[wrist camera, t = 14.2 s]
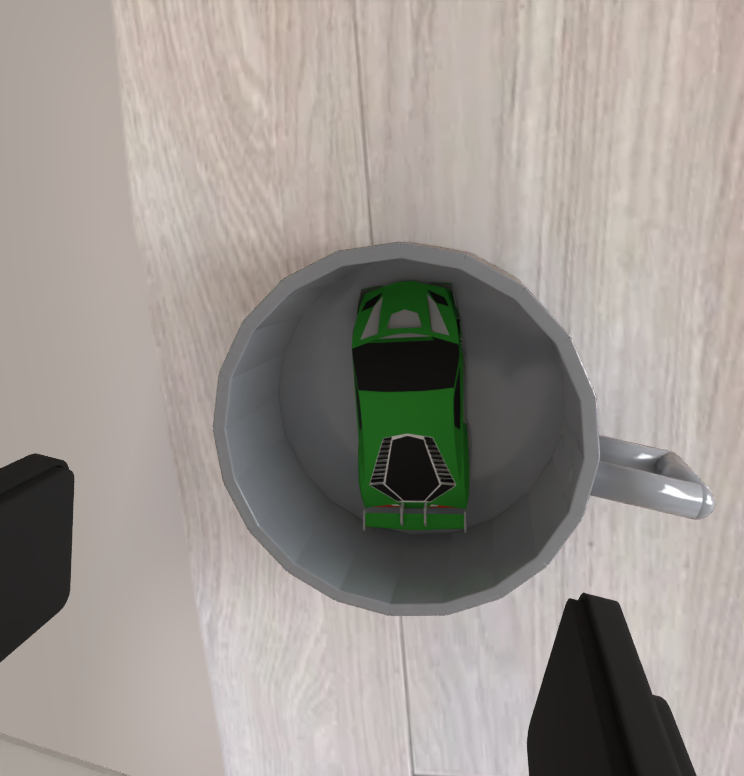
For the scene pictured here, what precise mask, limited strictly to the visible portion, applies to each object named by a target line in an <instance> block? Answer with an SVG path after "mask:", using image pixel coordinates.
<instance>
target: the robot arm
mask: <svg viewBox="0 0 744 776" xmlns="http://www.w3.org/2000/svg"><path fill="white" fill-rule="evenodd" d="M73 499H74V474H73V472H72V471H71V470H69V467H68V465H67V463H66V462H65V461H64V460H60V459H56V458H52V457H48V456H44V455H40V454H31V455H28V456H26V457H24V458H22V459H20V460H17V461H15V462H13V463H11V464H9V465H7V466H5V467H3V468H0V662H1V661H2V660H4V659H5V658H6V657H7V656H8V655H9V654H11V653H12V652H13V651H14V650H15V649H16V648H17V647H18V646H20V645H21V644H22V643H23V642H24V641H26V640H27V639H28V638H29V637H30V636H31V635H32V634H34V633H35V632H36V631H37V630H38V629H40V628H41V627H42V626H43V625H44V624H45V623H46V622H48V621H49V620H50V619H51V618H52V617H53V616H54V615H56V614H57V613H58V612H59V611H60V610H61V609H62V608H63V607H64V605H65V603H66V602H67V599H68V597H69V593H70V580H71V579H70V578H71V554H72V552H71V551H72V525H73ZM527 753H528V766H529V776H696V773H695V771H694V768H693V765H692V763H691V760H690V758H689V755H688V753H687V750H686V748H685V745H684V743H683V740H682V737H681V735H680V732H679V730H678V727H677V725H676V722H675V720H674V717H673V714H672V712H671V709H670V707H669V706H668V704H667V702H666V700H664V699H663V698H662V697H659V696H656V695H652V692H651V689H650V686H649V684H648V681H647V678H646V675H645V673H644V670H643V667H642V664H641V662H640V659H639V656H638V653H637V651H636V648H635V645H634V643H633V640H632V637H631V634H630V632H629V629H628V626H627V623H626V621H625V618H624V615H623V612H622V610H621V607H620V605H619V603H618V602H617V601H614V600H610V599H606V598H602V597H598V596H594V595H590V594H586V593H583V594H581V596H580V597H579V599H578V600H575V599H571V598H570V599H568V601H567V602H566V605H565V608H564V612H563V615H562V618H561V621H560V625H559V628H558V631H557V635H556V638H555V641H554V645H553V648H552V651H551V655H550V658H549V661H548V665H547V668H546V671H545V674H544V678H543V681H542V684H541V688H540V691H539V694H538V698H537V701H536V704H535V708H534V711H533V714H532V717H531V721H530V725H529V729H528V737H527ZM0 776H129V775H127V774H124V773H121V772H117V771H115V770H112V769H108V768H105V767H103V766H100V765H97V764H93V763H90V762H87V761H84V760H81V759H78V758H75V757H72V756H69V755H66V754H63V753H60V752H57V751H54V750H51V749H48V748H45V747H42V746H39V745H36V744H33V743H30V742H27V741H24V740H20V739H17V738H15V737H12V736H8V735H5V734H2V733H0Z"/></svg>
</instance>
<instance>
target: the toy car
mask: <svg viewBox="0 0 744 776" xmlns="http://www.w3.org/2000/svg"><path fill="white" fill-rule="evenodd" d="M356 314H358V316H357V319H356V323H355V326H354V328H353V336H352V359H353V372H354V386H355V399H356V412H357V425H358V439H359V445H358V479H359V488H360V493H361V497H362V501H363V503H364V506H365V508H369V507H397V508H400V513H366V510H364V511H363V530H364V531H366V527H377V528H390V529H402V530H440V529H464V533H466V531H467V524H466V512H464V514H426V512H428V508H461V509H466V508H467V503H468V497H469V478H470V477H469V474H470V473H469V470H470V469H469V454H468V449H469V448H470V449H472V445H471V439H470V433H469V427H468V421H467V422H466V420H465V412H464V403H463V382H464V381H465V380H466V387H467V393H468V380H467V356H466V353H462V333H461V321H460V319H457V318H460V315H459V310H458V306H457V302H456V297H455V293H454V289H453V284H451V283H435V282H432V283H430V284H429V285H428V284H423V283H418V282H414V281H405V282H396V283H393V284H390V285H388V286H385V287H382V286H376V287H371V288H366V289H361V292H360V296H359V299H358V303H357V313H356ZM440 333H441V334H440ZM376 334H377V335H376ZM466 419H467V415H466ZM437 470H438V471H437ZM441 475H446V476H441ZM440 478H443V479H446V480H441V479H440ZM405 508H412V509H424V514H408V513H403V511H405Z"/></svg>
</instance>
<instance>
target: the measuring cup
mask: <svg viewBox="0 0 744 776" xmlns="http://www.w3.org/2000/svg"><path fill="white" fill-rule="evenodd" d="M405 281H414V282H418V283H423V284H428V285H429V284H430V283H432V282H435V283H451V284H453V289H454V293H455V297H456V302H457V306H458V310H459V315H460V318H457V319H460V321H461V333H462V353H466V356H467V380H468V393H467V387H466V380H465V381H464V382H463V403H464V412H465V420H466V422H467V421H468V427H469V433H470V439H471V445H472V449H470V448H469V449H468V454H469V469H470V470H469V473H470V474H469V477H470V478H469V497H468V503H467V508H466V509H461V508H428V512H426V514H464V512H466V524H467V531H466V533H464V529H440V530H402V529H390V528H377V527H366V531H364V530H363V511H364V510H366V513H400V508H397V507H369V508H365V506H364V503H363V501H362V497H361V493H360V488H359V479H358V445H359V439H358V425H357V412H356V399H355V386H354V372H353V359H352V336H353V328H354V326H355V323H356V319H357V316H358V314H356V313H357V303H358V299H359V296H360V292H361V289H366V288H371V287H376V286H382V287H385V286H388V285H390V284H393V283H396V282H405ZM440 334H441V333H440ZM376 335H377V334H376ZM219 373H220V374H219V376H218V385H217V394H216V403H215V412H214V422H213V428H214V429H213V433H214V438H215V443H216V448H217V453H218V458H219V463H220V468H221V473H222V478H223V482H224V485H225V487H226V489H227V490H228V492H229V494H230V496H231V498H232V500H233V502H234V504H235V506H236V508H237V509H238V511H239V513H240V515H241V517H242V519H243V521H244V523H245V525H246V527H247V529H248V530H249V531H250V533H251V534H252V535H253V536H254V537H255V538H256V539H257V540H258V541H259V543H260V544H261V545H262V546H263V547H264V548H265V549H266V550H267V551H268V552H269V553H270V554H271V555H272V556H273V557H274V558H275V559H276V560H277V561H278V563H279V564H280V565H281V566H282V567H283V568H284V569H285V570H286V571H288V573H290V574H292V575H293V576H295V577H297V578H298V579H300V580H302V581H303V582H305V583H307V584H308V585H310V586H312V587H313V588H315V589H317V590H318V591H320V592H321V593H323V594H325V595H326V596H328V597H330V598H331V599H333V600H336V601H338V602H341V603H345V604H348V605H352V606H356V607H359V608H363V609H366V610H370V611H374V612H377V613H381V614H384V615H388V616H389V615H390V616H445V615H450V614H453V613H456V612H459V611H463V610H466V609H469V608H472V607H476V606H479V605H482V604H485V603H489V602H492V601H495V600H498V599H500V598H503V597H504V596H506V595H507V594H508V593H510V592H511V591H513V590H514V589H516V588H517V587H518V586H520V585H521V584H523V583H524V582H526V581H527V580H528V579H530V578H531V577H533V576H534V575H536V574H537V573H538V572H540V571H541V570H543V569H544V568H546V567H547V566H548V565H549V564H550V563H551V561H552V560H553V558H554V557H555V556H556V554H557V553H558V552H559V550H560V549H561V547H562V546H563V545H564V543H565V542H566V541H567V539H568V538H569V537H570V535H571V534H572V532H573V531H574V530H575V528H576V527H577V526H578V524H579V523H580V521H581V520H582V517H583V516H584V513H585V510H586V507H587V503H588V500H589V496H590V495H591V496H595V497H600V498H604V499H608V500H612V501H617V502H621V503H625V504H629V505H634V506H638V507H642V508H646V509H650V510H655V511H659V512H663V513H667V514H672V515H676V516H680V517H684V518H689V519H694V520H699V519H704V518H706V517H708V516H709V515H710V514H711V513H712V512H713V510H714V508H715V498H714V495H713V493H712V492H711V491H710V490H709V488H708V487H707V486H706V485H705V484H704V483H703V482H702V481H701V480H700V478H699V477H698V476H697V475H696V474H695V473H694V472H693V471H692V470H691V469H690V467H689V466H688V465H687V464H686V463H685V462H684V461H683V460H682V459H681V457H680V456H679V455H677V454H676V453H674V452H672V451H668V450H664V449H659V448H655V447H650V446H645V445H641V444H636V443H632V442H627V441H623V440H618V439H614V438H609V437H605V436H600V435H599V430H598V414H597V398H596V394H595V392H594V390H593V387H592V385H591V383H590V380H589V378H588V376H587V373H586V371H585V369H584V366H583V364H582V362H581V359H580V357H579V355H578V352H577V350H576V348H575V345H574V343H573V341H572V338H571V337H570V336H569V334H568V333H567V332H566V331H565V329H564V328H563V327H562V326H561V325H560V324H559V323H558V322H557V321H556V319H555V318H554V317H553V316H552V315H551V314H550V313H549V312H548V311H547V310H546V308H545V307H544V306H543V305H542V304H541V303H540V302H539V301H538V300H537V299H536V297H535V296H534V295H533V294H532V293H531V292H530V291H529V290H528V289H527V288H526V287H525V285H524V284H523V283H522V282H521V281H520V280H519V279H518V278H517V277H515V276H513V275H511V274H509V273H508V272H506V271H504V270H502V269H500V268H499V267H497V266H495V265H493V264H491V263H489V262H488V261H486V260H484V259H482V258H480V257H479V256H477V255H475V254H473V253H470V252H465V251H459V250H454V249H449V248H443V247H437V246H432V245H426V244H420V243H408V242H395V243H388V244H381V245H374V246H368V247H361V248H354V249H347V250H341V251H337V252H334V253H332V254H330V255H328V256H326V257H324V258H322V259H320V260H319V261H317V262H315V263H313V264H311V265H309V266H307V267H305V268H303V269H301V270H299V271H297V272H295V273H293V274H292V275H290V276H288V277H286V278H284V279H283V280H281V281H280V282H279V283H278V285H277V286H276V287H275V288H274V289H273V290H272V291H271V292H270V293H269V294H268V295H267V296H266V297H265V298H264V299H263V300H262V301H261V302H260V304H259V305H258V306H257V307H256V308H255V309H254V310H253V311H252V312H251V313H250V314H249V315H248V316H247V317H246V318H245V319H244V320H243V322H242V323H241V326H240V328H239V330H238V332H237V334H236V337H235V339H234V341H233V343H232V345H231V348H230V350H229V352H228V354H227V356H226V359H225V361H224V363H223V365H222V367H221V369H220V372H219ZM466 415H467V419H466ZM437 471H438V470H437ZM441 476H446V475H441ZM440 479H441V480H446V479H443V478H440ZM403 513H408V514H424V509H412V508H405V511H403Z"/></svg>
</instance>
